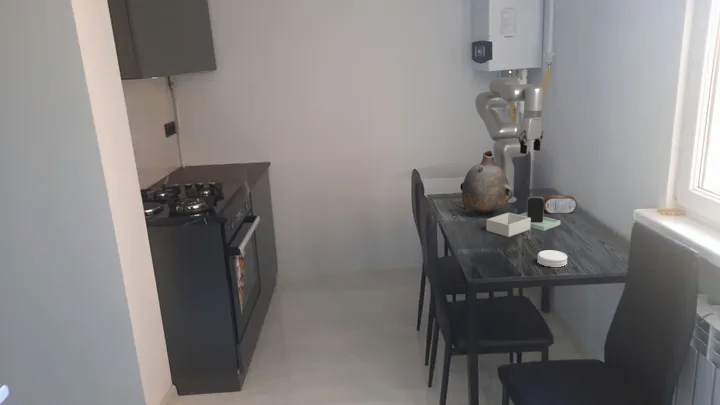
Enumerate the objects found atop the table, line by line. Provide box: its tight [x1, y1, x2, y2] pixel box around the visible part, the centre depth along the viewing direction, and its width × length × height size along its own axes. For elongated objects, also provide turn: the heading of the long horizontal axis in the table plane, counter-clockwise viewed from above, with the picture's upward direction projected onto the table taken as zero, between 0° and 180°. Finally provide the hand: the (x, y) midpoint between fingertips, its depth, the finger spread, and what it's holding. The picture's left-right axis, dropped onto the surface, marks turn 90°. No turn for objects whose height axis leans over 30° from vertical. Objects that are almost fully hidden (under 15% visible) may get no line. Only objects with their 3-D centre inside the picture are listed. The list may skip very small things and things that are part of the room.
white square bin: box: [485, 212, 531, 238], centre depth 228 cm, size 12×15×5 cm
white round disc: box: [537, 249, 568, 267], centre depth 191 cm, size 10×10×4 cm
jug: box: [460, 150, 514, 215], centre depth 248 cm, size 24×21×30 cm
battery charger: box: [526, 195, 545, 222], centre depth 235 cm, size 7×4×11 cm, turn 78°
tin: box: [544, 194, 578, 215], centre depth 248 cm, size 15×3×8 cm, turn 84°
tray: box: [518, 212, 561, 232], centre depth 236 cm, size 18×12×2 cm, turn 37°
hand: (530, 151), depth 244 cm, fingers open, 9 cm apart
